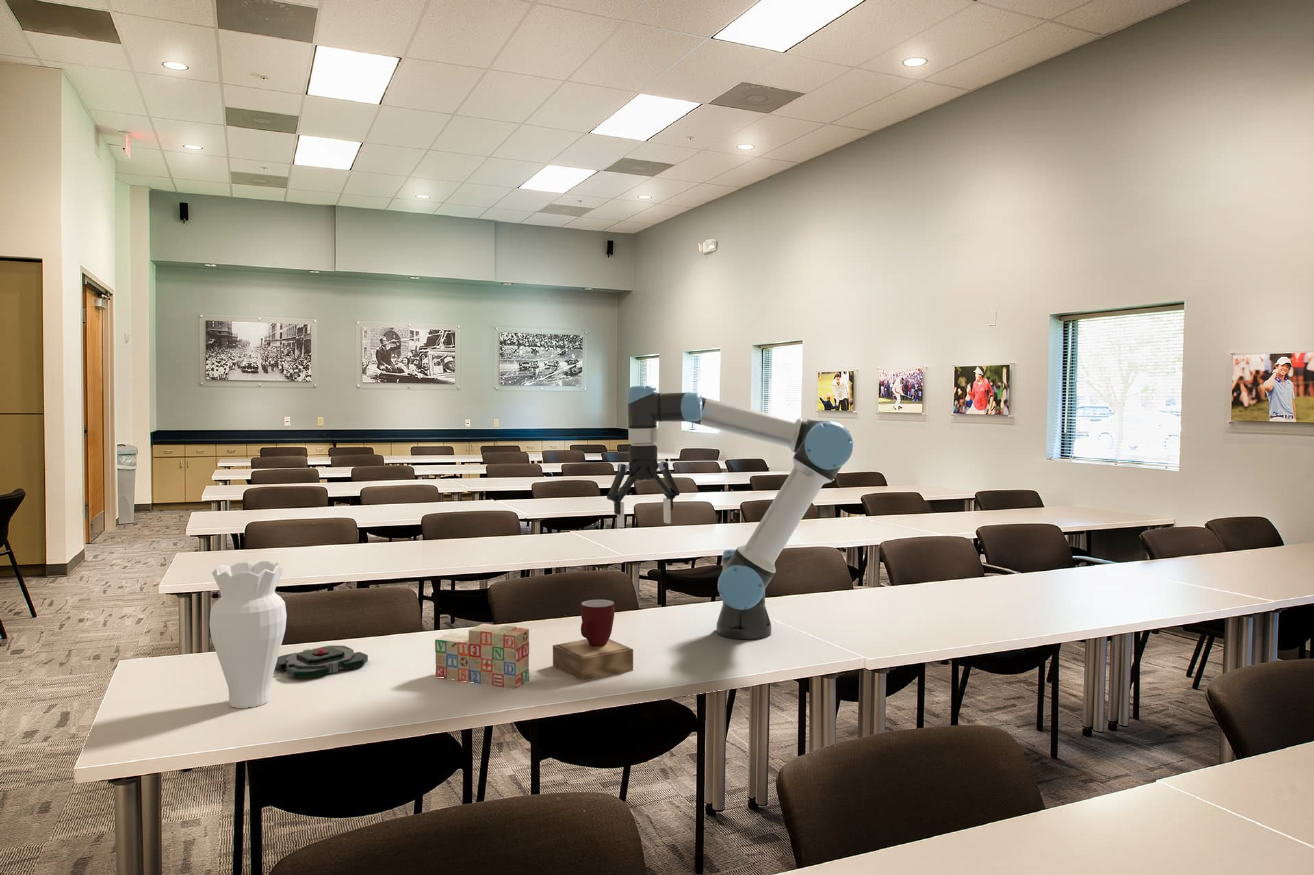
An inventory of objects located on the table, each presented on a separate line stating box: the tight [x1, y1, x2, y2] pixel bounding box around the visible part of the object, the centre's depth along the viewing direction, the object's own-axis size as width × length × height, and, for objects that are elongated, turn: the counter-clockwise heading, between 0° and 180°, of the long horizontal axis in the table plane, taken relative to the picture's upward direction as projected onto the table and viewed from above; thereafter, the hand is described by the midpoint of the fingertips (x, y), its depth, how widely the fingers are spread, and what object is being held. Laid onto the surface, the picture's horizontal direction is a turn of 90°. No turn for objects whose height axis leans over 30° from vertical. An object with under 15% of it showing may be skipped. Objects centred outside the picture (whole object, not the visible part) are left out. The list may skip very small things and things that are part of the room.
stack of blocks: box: [434, 623, 530, 690], centre depth 193 cm, size 21×6×12 cm, turn 69°
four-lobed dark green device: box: [275, 645, 369, 678], centre depth 203 cm, size 18×18×5 cm
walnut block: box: [552, 638, 634, 682], centre depth 202 cm, size 14×14×5 cm
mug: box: [580, 599, 616, 647], centre depth 202 cm, size 10×8×10 cm
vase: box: [208, 560, 288, 709], centre depth 178 cm, size 15×15×29 cm
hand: (644, 525), depth 223 cm, fingers open, 13 cm apart
